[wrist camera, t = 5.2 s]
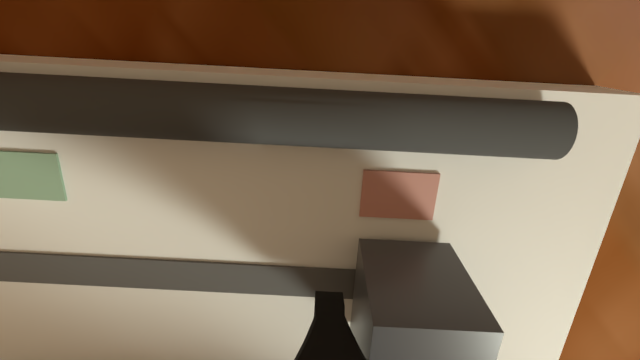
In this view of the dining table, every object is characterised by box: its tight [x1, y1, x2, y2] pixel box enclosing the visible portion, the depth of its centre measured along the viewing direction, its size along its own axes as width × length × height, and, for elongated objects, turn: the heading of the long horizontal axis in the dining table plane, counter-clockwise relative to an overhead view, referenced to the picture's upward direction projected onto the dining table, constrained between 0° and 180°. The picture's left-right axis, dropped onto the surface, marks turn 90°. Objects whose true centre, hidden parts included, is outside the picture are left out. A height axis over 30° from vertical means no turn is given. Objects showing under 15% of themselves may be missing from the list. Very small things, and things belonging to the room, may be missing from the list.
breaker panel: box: [0, 54, 640, 360], centre depth 14 cm, size 14×26×3 cm, turn 87°
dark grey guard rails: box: [0, 72, 578, 160], centre depth 12 cm, size 14×20×2 cm
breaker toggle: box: [350, 238, 504, 360], centre depth 11 cm, size 4×3×4 cm
